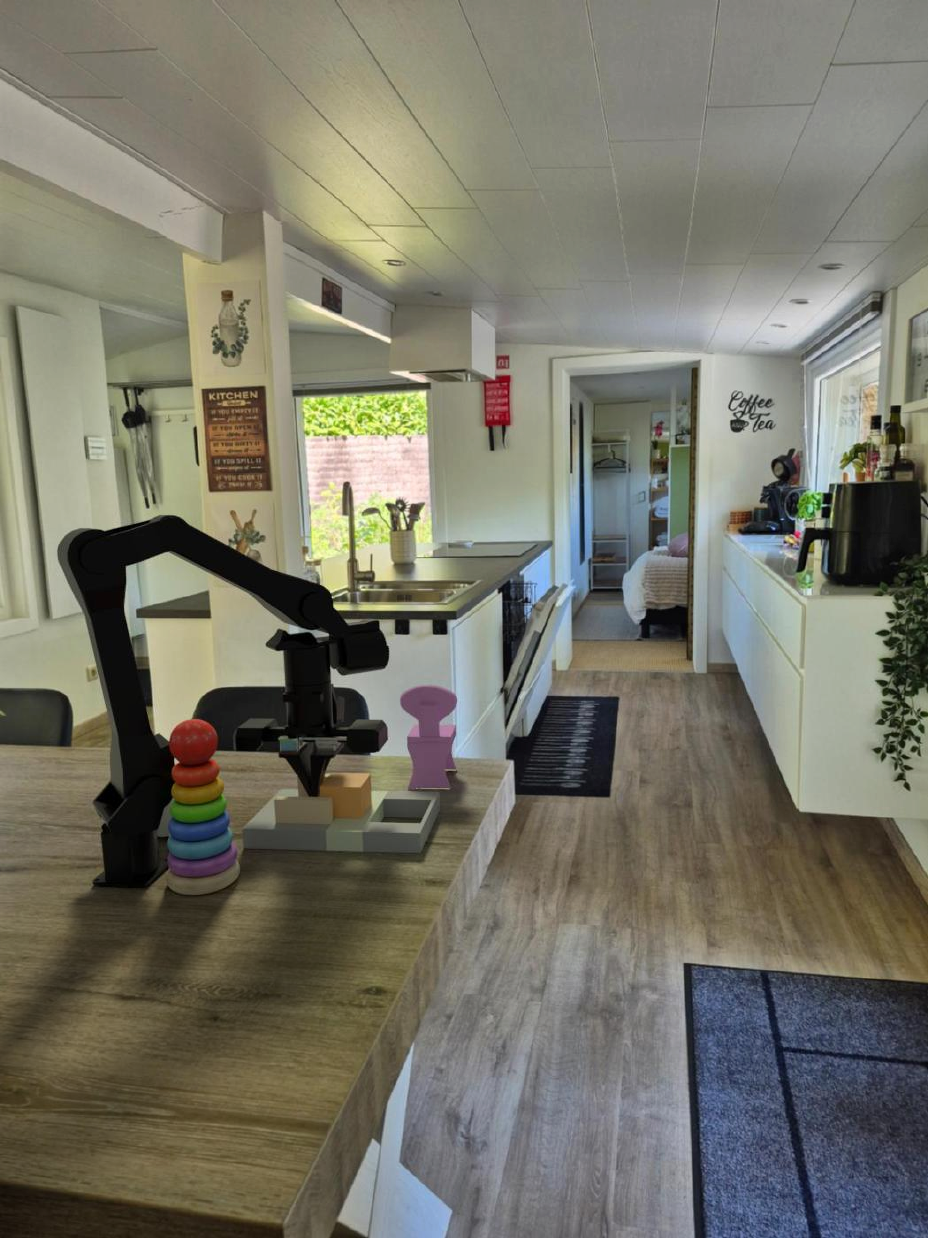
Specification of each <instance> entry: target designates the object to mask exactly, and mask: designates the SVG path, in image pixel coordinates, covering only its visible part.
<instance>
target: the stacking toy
mask: <svg viewBox="0 0 928 1238" xmlns="http://www.w3.org/2000/svg"><path fill="white" fill-rule="evenodd" d="M168 741H169V747H170V751H171V753H172V755H173V756H174V758H175V759H176V760H177V761H179V762H178V763H177V764H176V765H175V766H174V767H173V769H172V778H173V780H174V781H175V782H176V783H175V784H174V785H173V787H172V796H173V798H174V799H175V800H174V801H173V802H172V803H171V805H170V813H171V816H172V818H171V819H170V821H169V824H168V830H169V833H170V834H171V835H170V836H168V839H167V841H166V843H167V844H166V846H167V849H168V852H169V853H168V856H167V858H168V860H167V862H168V870H167V871H166V874H165V881H166V885H167V887H169V889H170V890H172V891H173V892H175V893H178V894H181V895H184V896H186V895H187V896H198V895H199V896H200V895H206V894H212V893H215V892H218V891H220V890H222V889H224V888H227V887H228V886H229V885H231V884H233V882H235V881H236V879H237V878H238V877H239V875H240V872H241V865H240V863H239V861H238V860H237V858H238V848H237V846H236V844H235V843H234V842H233V841H234V840H233V839H234V835H233V831H232V829H231V828H230V827H229V825H230V822H231V819H230V815H229V813H228V811H226V809H227V806H228V801H227V798H226V797H225V796H224V794H223V793H224V790H225V784H224V782H223V779H222V778H220V777H218V776H219V775H220V766H219V763H218V762H217V761H215V760H214V759H212V757H213V756H214V754H215V753H216V751H217V749H218V744H219V742H218V741H219V739H218V734H217V731H216V730H215V728H214V726H212V725H211V724H210V723H209V722H207V721H205V720H203V719H199V718H191V719H186V720H183V721H181V722H179V724H177V725H176V726H175V727H174V728H173V729H172V731H171V733H170V735H169V739H168Z"/></svg>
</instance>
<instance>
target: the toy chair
mask: <svg viewBox="0 0 928 1238" xmlns="http://www.w3.org/2000/svg"><path fill="white" fill-rule="evenodd" d="M399 702H400V707H401V708H402V710H403V711H404V712H405V713H407V714H409V715H410V716H411V717H413V718H414V719H416V720H417V721H418V724H413V726H412V728H411V730H410V732H409V733H408V735H407V737H406V740H407V741H406V743H407V744H406V745H407V746H406V747H407V751H408V754H409V756H410V759H411V761H412V774H411V778H410V782H409V784H408V786H407V790H408V789H416V788H418V789H420V788H450V787H451V784H450V783H449V780H448V777H447V772H446V771H445V769H457V766H456V764H455V761H454V757H453V750H452V749H453V744H454V741H455V738H456V735H457V725H456V724H441V725H440V722H441V721H442V720H444V719H445V718H446V717H448V716H450V714H451V713H453V712H454V711H455V709H456V707H457V703H458V697H457V695H456V693H455V692H453V691H452V690H449V689H448V688H446V687H442V686H439V685H435V684H434V685H433V684H431V685H430V684H427V685H425V684H422V685H416V686H412V687H411V688H408V689H406V690H404V691H403V693H401V695H400V697H399Z"/></svg>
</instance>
